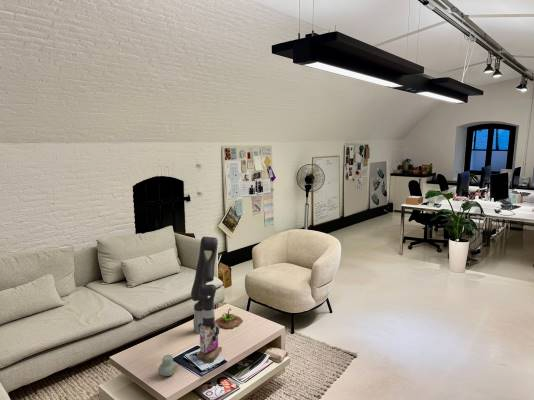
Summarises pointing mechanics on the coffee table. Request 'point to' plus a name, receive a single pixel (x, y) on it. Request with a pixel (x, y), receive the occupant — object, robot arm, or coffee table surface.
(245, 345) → the coffee table surface
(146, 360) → the coffee table surface
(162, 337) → the coffee table surface
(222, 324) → the plant
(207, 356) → the walnut plinth
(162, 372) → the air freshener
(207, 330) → the candy bar box
